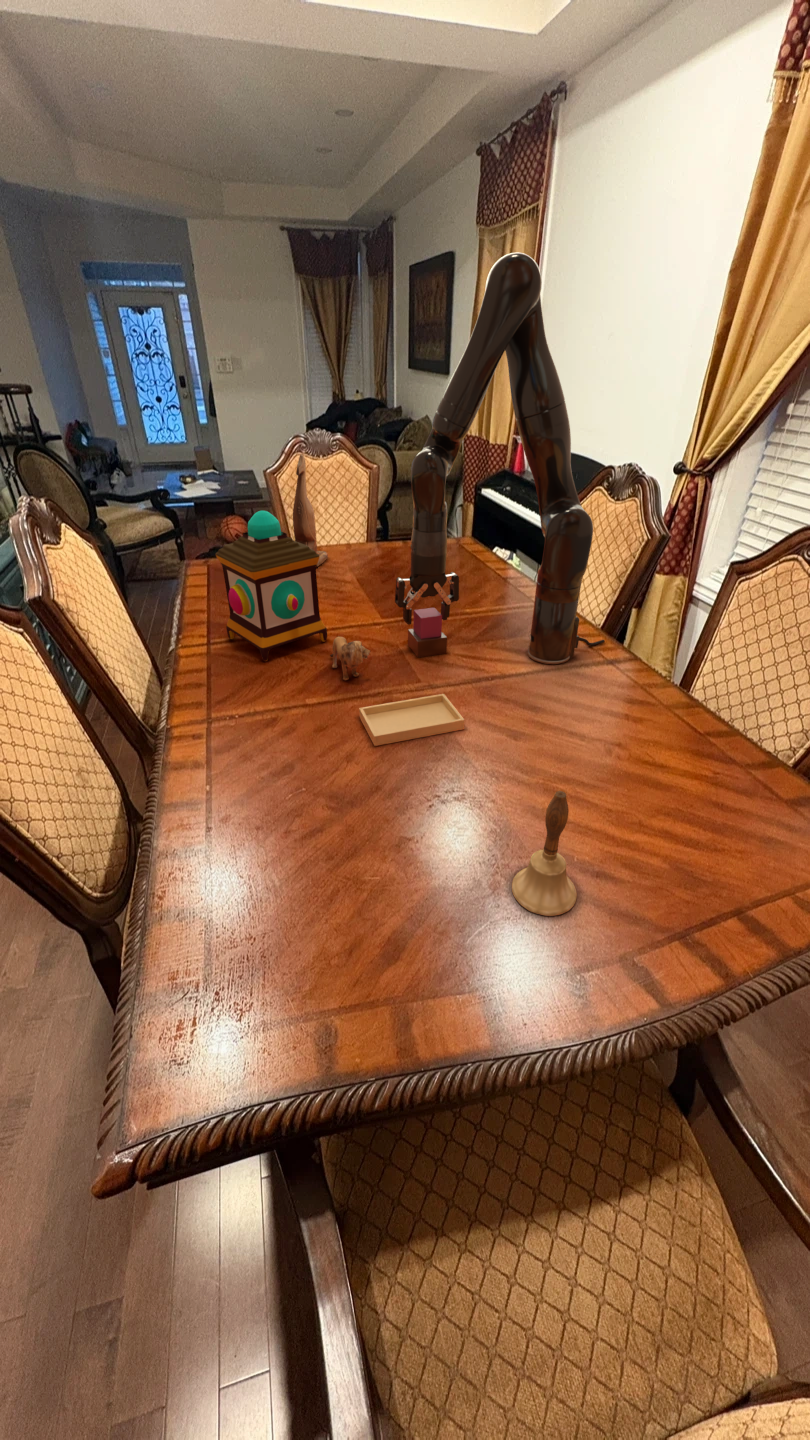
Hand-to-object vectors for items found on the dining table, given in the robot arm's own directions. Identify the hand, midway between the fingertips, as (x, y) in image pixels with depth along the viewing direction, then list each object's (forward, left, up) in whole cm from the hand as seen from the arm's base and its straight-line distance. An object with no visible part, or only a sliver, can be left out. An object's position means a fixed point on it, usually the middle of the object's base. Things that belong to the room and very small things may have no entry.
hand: (426, 621), depth 137 cm
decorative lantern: (+32, -16, -7) cm, 36 cm away
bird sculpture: (+14, -73, -7) cm, 75 cm away
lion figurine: (+20, +5, -7) cm, 22 cm away
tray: (+14, +29, -7) cm, 33 cm away
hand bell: (+11, +73, -7) cm, 74 cm away
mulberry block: (0, 0, -3) cm, 3 cm away
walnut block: (0, 0, -7) cm, 7 cm away
